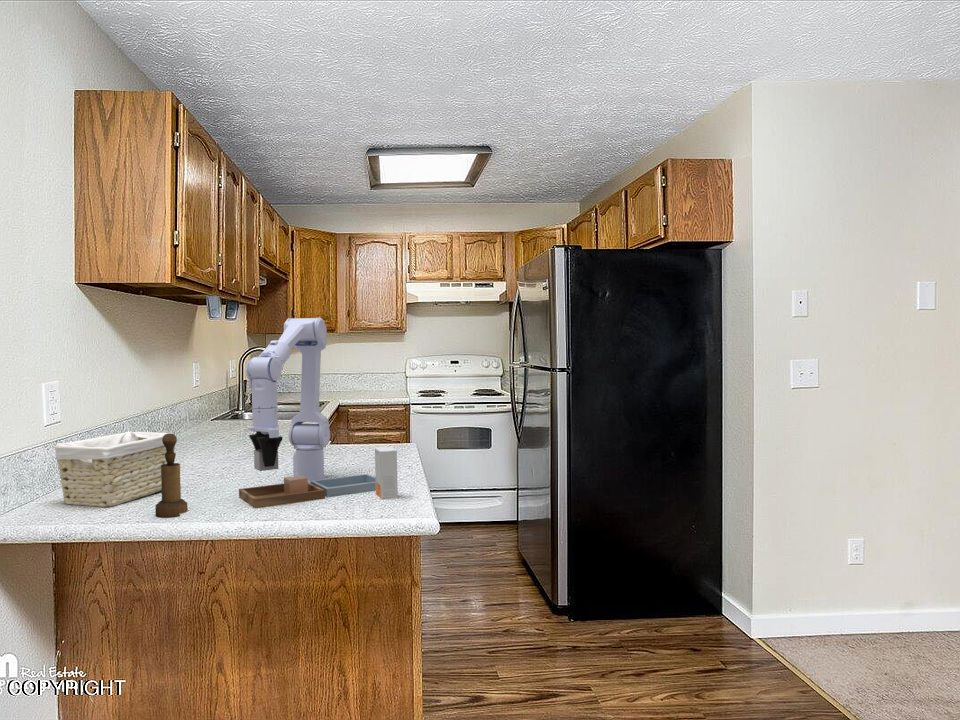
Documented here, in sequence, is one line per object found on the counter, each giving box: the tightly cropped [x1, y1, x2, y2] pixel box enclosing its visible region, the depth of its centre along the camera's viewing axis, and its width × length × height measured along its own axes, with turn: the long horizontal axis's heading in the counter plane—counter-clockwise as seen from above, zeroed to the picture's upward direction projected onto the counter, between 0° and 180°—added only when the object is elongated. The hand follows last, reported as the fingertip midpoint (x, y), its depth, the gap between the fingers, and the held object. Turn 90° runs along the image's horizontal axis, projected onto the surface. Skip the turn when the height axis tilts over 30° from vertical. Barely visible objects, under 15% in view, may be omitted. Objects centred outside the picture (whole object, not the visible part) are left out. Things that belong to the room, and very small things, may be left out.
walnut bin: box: [238, 482, 326, 509], centre depth 174 cm, size 14×17×2 cm
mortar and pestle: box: [154, 432, 189, 518], centre depth 162 cm, size 7×6×18 cm
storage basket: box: [54, 431, 176, 508], centre depth 181 cm, size 24×16×15 cm
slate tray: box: [309, 473, 376, 498], centre depth 183 cm, size 12×16×2 cm
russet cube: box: [283, 475, 308, 495], centre depth 176 cm, size 4×4×4 cm
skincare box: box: [374, 446, 399, 500], centre depth 175 cm, size 6×4×12 cm
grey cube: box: [253, 449, 279, 472], centre depth 172 cm, size 4×4×4 cm
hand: (266, 464), depth 172 cm, fingers closed on grey cube, 4 cm apart
